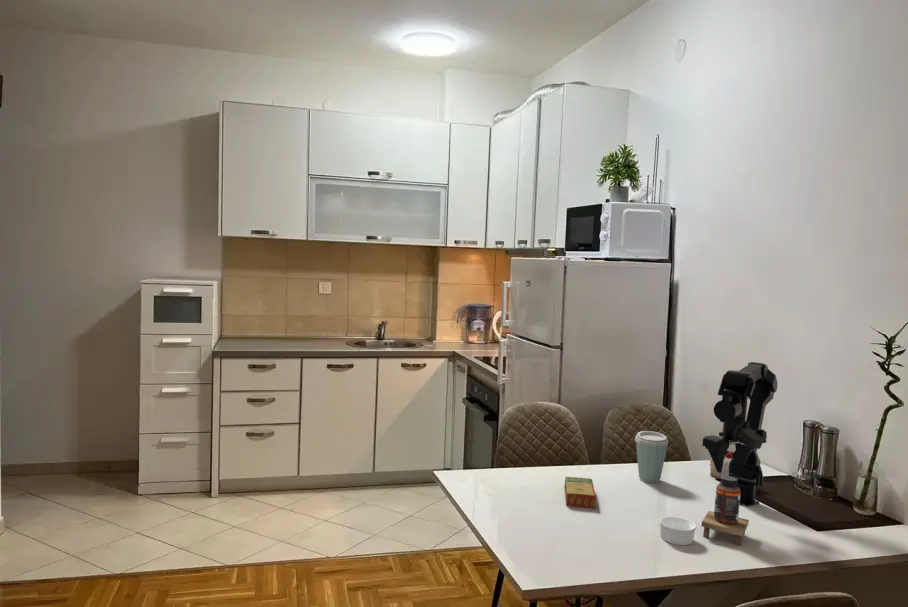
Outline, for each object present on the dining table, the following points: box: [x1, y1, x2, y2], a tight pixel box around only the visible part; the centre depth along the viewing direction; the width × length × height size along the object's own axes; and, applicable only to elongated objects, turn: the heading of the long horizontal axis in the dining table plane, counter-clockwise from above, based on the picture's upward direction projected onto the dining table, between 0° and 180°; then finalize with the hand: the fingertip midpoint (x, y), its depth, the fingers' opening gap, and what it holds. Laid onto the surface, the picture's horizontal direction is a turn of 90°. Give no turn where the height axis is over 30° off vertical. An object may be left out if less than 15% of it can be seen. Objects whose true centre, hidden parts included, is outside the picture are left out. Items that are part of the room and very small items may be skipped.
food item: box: [709, 451, 734, 480], centre depth 226 cm, size 14×8×10 cm, turn 19°
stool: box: [701, 510, 749, 546], centre depth 178 cm, size 10×10×4 cm
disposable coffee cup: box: [634, 430, 669, 484], centre depth 221 cm, size 11×11×15 cm
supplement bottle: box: [713, 476, 741, 524], centre depth 177 cm, size 6×6×11 cm
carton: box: [563, 476, 597, 510], centre depth 200 cm, size 8×16×4 cm, turn 173°
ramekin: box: [659, 516, 697, 546], centre depth 174 cm, size 9×9×4 cm
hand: (729, 470), depth 192 cm, fingers open, 9 cm apart
